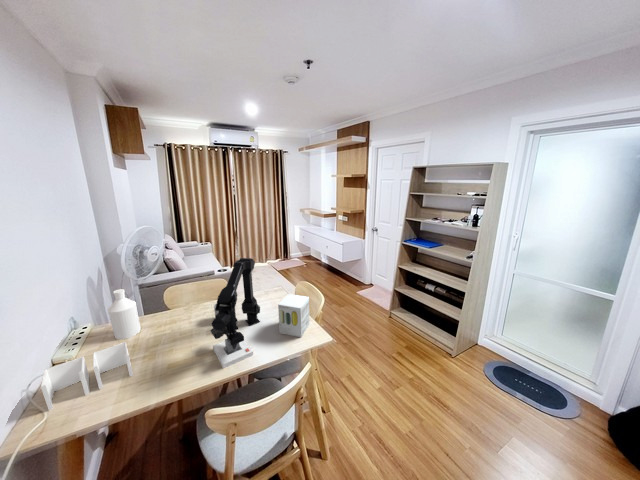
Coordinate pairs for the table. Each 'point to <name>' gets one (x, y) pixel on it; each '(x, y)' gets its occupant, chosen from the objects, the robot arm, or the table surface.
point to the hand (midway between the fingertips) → (232, 346)
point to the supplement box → (294, 315)
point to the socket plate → (232, 353)
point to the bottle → (124, 316)
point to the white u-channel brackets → (83, 370)
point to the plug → (230, 346)
